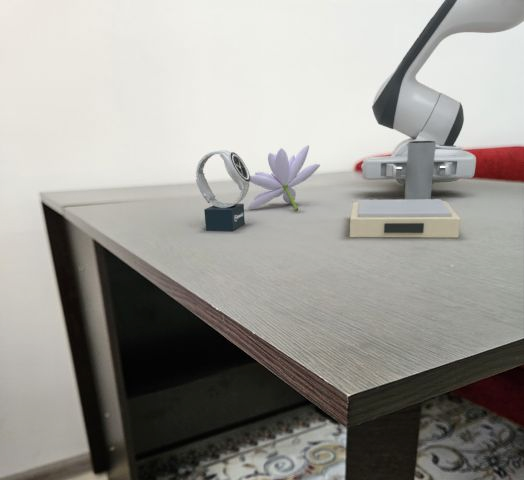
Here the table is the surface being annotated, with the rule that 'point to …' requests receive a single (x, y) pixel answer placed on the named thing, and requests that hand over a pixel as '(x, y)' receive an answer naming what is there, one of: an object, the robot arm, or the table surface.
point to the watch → (221, 213)
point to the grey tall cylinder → (419, 169)
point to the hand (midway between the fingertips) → (420, 171)
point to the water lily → (282, 177)
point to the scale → (404, 219)
